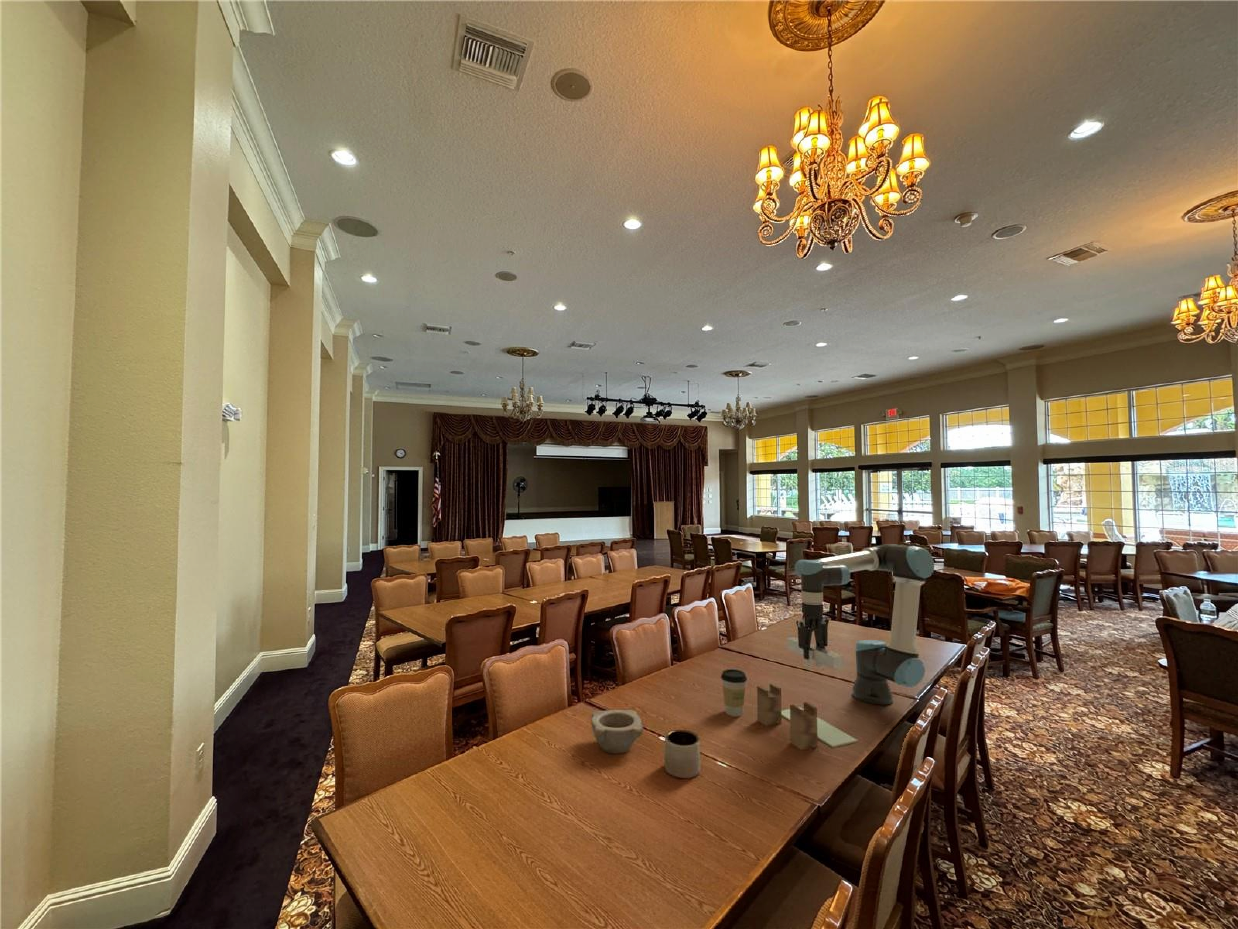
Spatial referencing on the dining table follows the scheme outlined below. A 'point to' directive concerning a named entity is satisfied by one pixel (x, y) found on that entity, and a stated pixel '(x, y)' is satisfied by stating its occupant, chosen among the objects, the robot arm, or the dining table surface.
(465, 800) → the dining table surface
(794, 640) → the rail
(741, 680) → the coffee cup
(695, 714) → the dining table surface
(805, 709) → the post
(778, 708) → the post
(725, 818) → the dining table surface
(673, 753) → the planter
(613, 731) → the mortar
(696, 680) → the dining table surface
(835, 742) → the mat
